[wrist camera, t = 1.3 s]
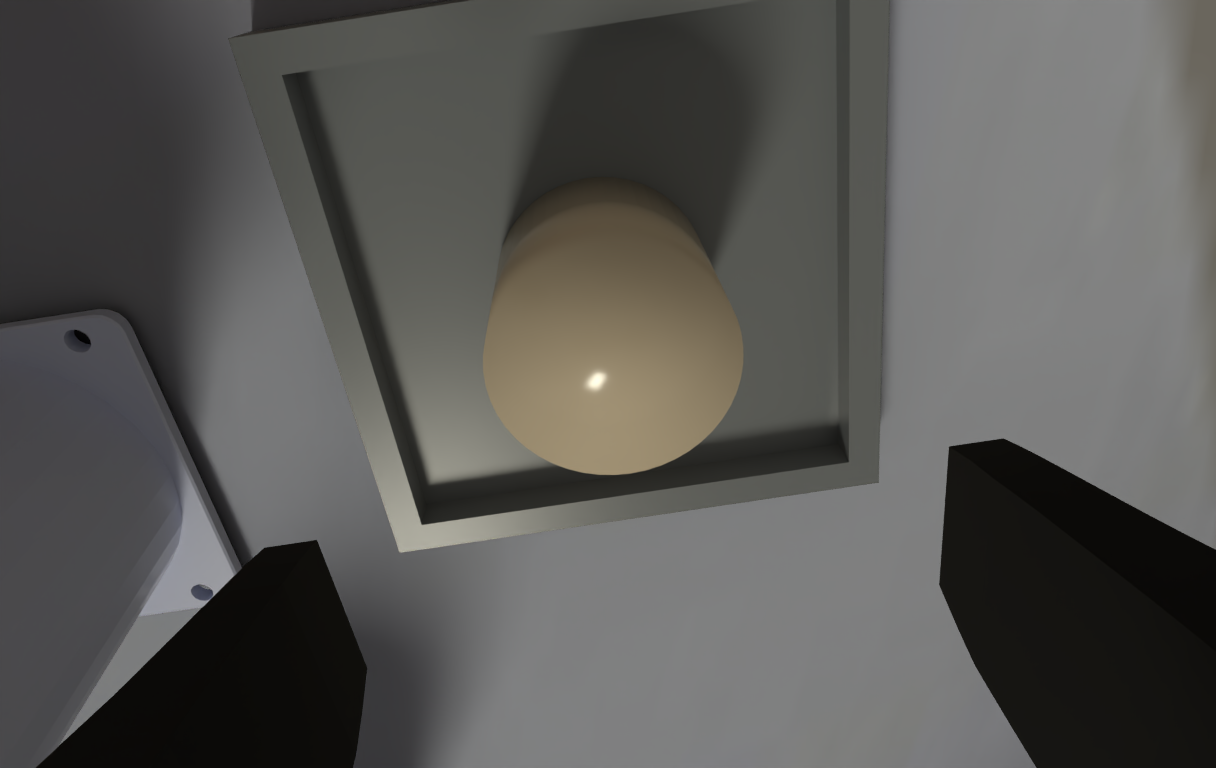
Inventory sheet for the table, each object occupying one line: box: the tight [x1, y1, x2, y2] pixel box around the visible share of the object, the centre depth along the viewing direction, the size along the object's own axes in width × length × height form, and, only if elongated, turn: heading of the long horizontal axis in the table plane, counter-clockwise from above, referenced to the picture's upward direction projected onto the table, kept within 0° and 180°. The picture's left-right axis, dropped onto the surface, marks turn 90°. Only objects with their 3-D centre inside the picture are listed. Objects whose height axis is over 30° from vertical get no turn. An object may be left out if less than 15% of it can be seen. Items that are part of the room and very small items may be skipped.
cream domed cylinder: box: [483, 177, 743, 475], centre depth 16 cm, size 4×4×4 cm
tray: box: [228, 0, 890, 553], centre depth 17 cm, size 11×11×1 cm
